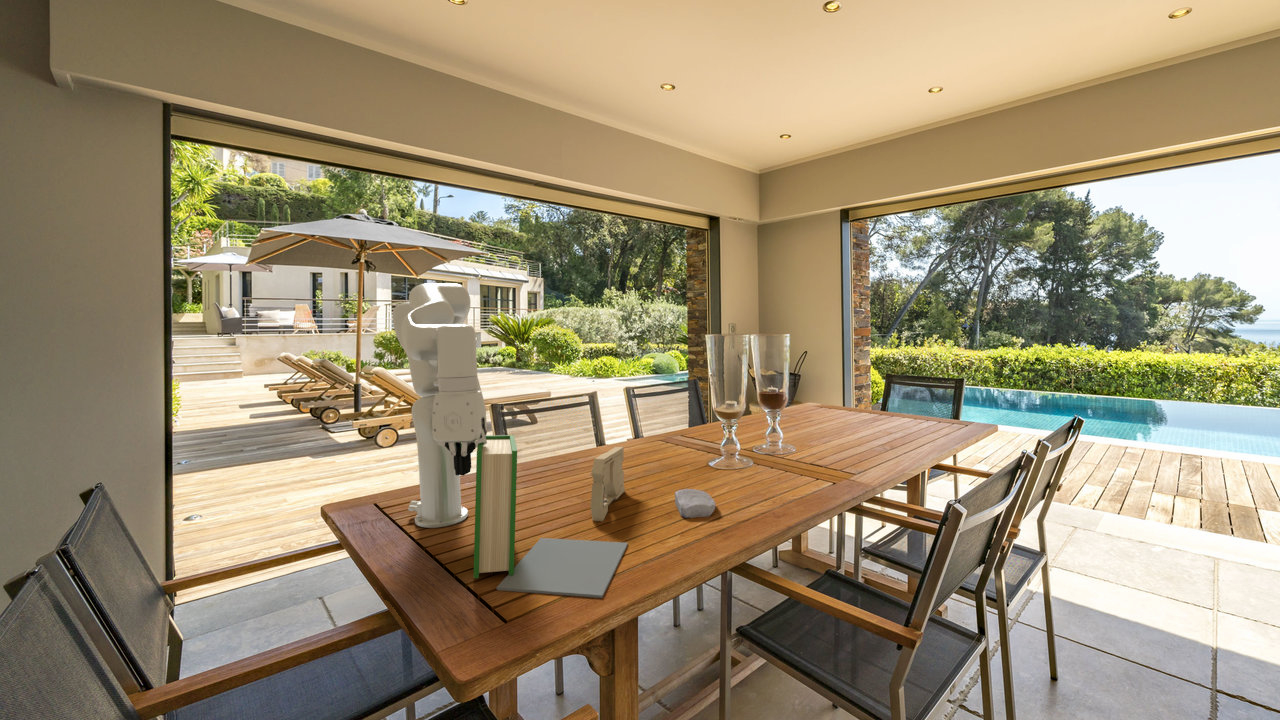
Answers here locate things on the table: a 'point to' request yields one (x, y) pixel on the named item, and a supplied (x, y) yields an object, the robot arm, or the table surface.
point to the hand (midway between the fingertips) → (463, 473)
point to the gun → (606, 481)
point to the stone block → (694, 503)
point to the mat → (566, 568)
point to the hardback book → (495, 505)
